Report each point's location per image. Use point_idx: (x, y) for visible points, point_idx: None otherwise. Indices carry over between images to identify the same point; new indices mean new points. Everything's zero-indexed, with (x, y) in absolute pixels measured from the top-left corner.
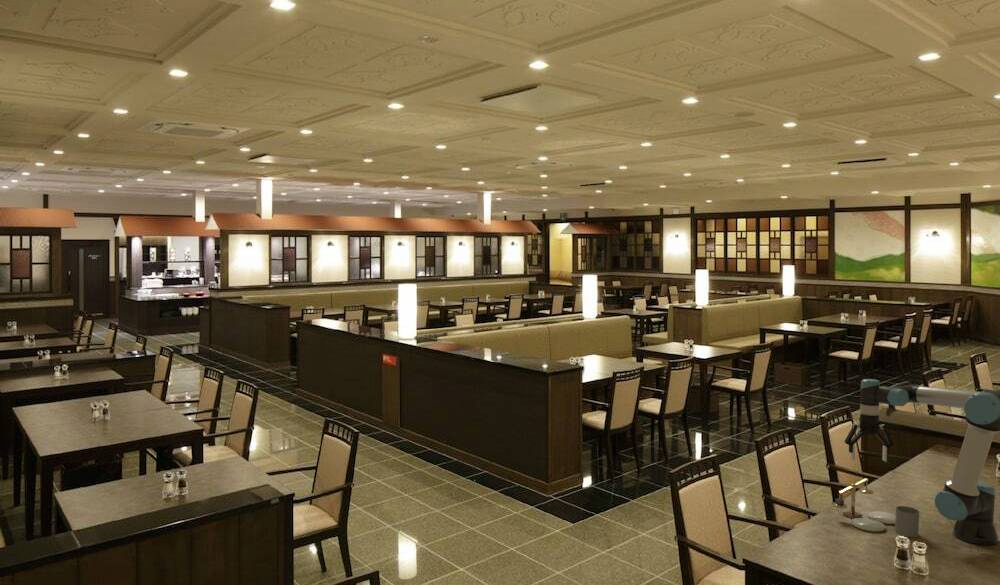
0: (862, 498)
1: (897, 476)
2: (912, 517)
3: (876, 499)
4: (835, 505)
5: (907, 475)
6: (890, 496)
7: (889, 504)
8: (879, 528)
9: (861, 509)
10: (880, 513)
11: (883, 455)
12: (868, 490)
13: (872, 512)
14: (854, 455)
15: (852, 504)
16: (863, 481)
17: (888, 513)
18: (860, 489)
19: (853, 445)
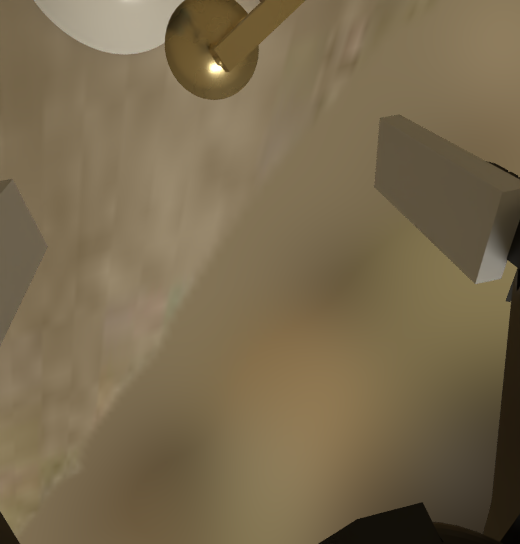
0: (179, 255)
1: (35, 483)
2: None
3: (122, 262)
4: None
5: (3, 499)
6: (62, 313)
7: (70, 217)
8: None
9: (211, 102)
10: (127, 11)
11: (13, 255)
12: (196, 63)
13: (170, 17)
14: (416, 137)
15: None
16: (258, 7)
17: (81, 24)
18: (248, 71)
19: (490, 246)
